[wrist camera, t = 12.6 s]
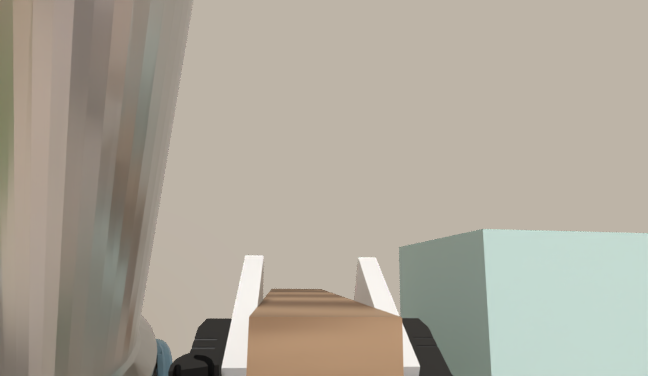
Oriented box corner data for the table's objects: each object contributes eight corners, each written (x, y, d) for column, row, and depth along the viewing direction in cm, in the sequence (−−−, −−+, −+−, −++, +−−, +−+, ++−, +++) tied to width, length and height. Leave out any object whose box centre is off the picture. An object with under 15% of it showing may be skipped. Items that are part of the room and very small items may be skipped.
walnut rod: (270, 340, 33) (271, 288, 34) (320, 340, 34) (321, 289, 35) (240, 493, 10) (248, 316, 11) (406, 487, 10) (401, 317, 11)
